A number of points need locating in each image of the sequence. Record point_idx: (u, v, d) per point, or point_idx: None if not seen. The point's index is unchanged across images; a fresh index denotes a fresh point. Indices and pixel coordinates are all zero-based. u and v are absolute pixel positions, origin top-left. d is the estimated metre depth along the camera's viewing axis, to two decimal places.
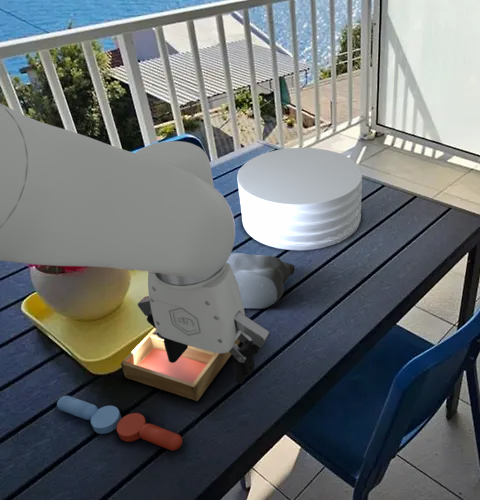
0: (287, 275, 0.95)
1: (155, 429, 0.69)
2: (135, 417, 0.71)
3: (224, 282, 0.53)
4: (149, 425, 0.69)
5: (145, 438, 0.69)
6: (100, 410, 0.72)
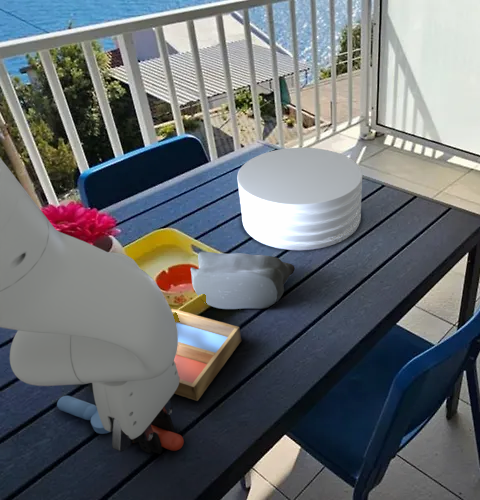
0: (287, 275, 0.95)
1: (156, 430, 0.69)
2: None
3: (99, 385, 0.57)
4: None
5: None
6: None
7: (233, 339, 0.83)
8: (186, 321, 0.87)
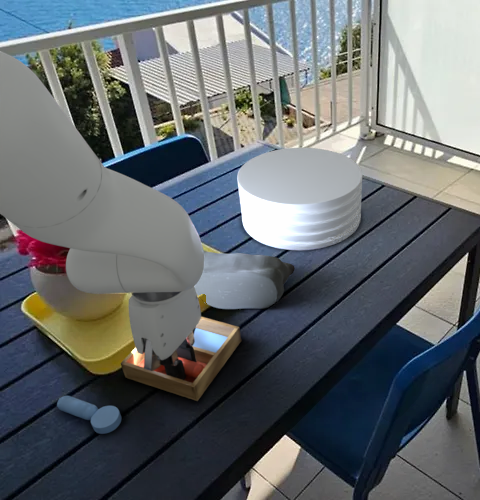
0: (287, 275, 0.95)
1: (180, 359, 0.77)
2: None
3: (135, 308, 0.66)
4: None
5: None
6: (100, 410, 0.72)
7: (233, 339, 0.83)
8: None
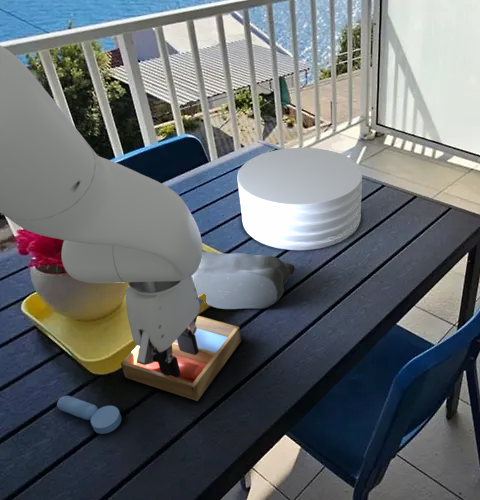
0: (287, 275, 0.95)
1: (180, 362, 0.78)
2: None
3: (132, 299, 0.65)
4: None
5: None
6: (100, 410, 0.72)
7: (233, 339, 0.83)
8: None
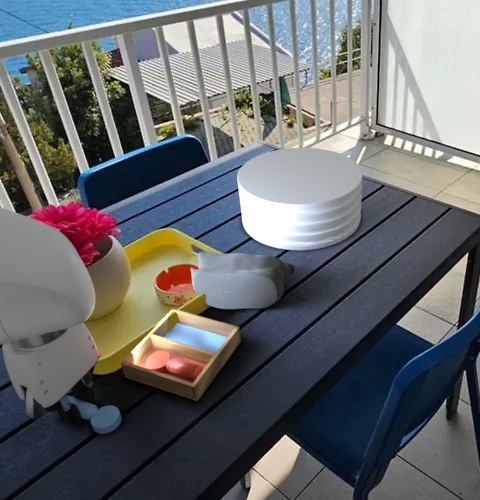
0: (287, 275, 0.95)
1: (180, 362, 0.78)
2: (161, 353, 0.80)
3: (8, 354, 0.60)
4: (175, 359, 0.78)
5: (172, 370, 0.78)
6: (100, 410, 0.72)
7: (233, 339, 0.83)
8: (186, 321, 0.87)
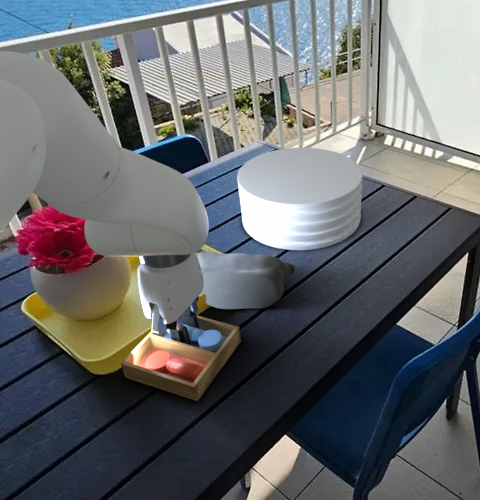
0: (287, 275, 0.95)
1: (180, 362, 0.78)
2: (161, 353, 0.80)
3: (144, 274, 0.71)
4: (175, 359, 0.78)
5: (172, 370, 0.78)
6: (204, 333, 0.83)
7: (233, 339, 0.83)
8: None
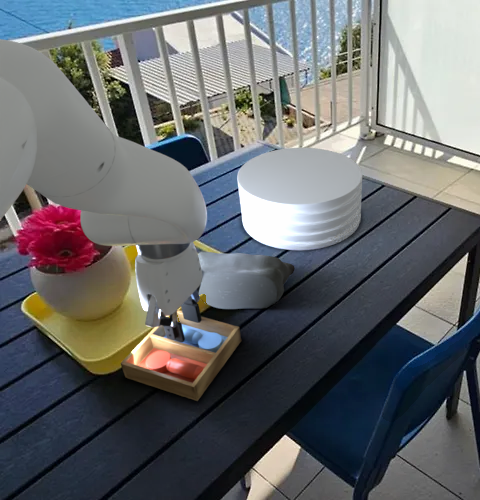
0: (287, 275, 0.95)
1: (180, 362, 0.78)
2: (161, 353, 0.80)
3: (141, 265, 0.70)
4: (175, 359, 0.78)
5: (172, 370, 0.78)
6: (205, 335, 0.83)
7: (233, 339, 0.83)
8: (186, 321, 0.87)
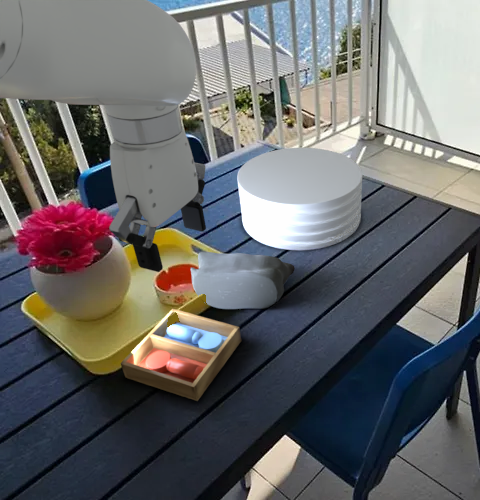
0: (287, 275, 0.95)
1: (180, 362, 0.78)
2: (161, 353, 0.80)
3: (118, 152, 0.54)
4: (175, 359, 0.78)
5: (172, 370, 0.78)
6: (205, 335, 0.83)
7: (233, 339, 0.83)
8: (186, 321, 0.87)
